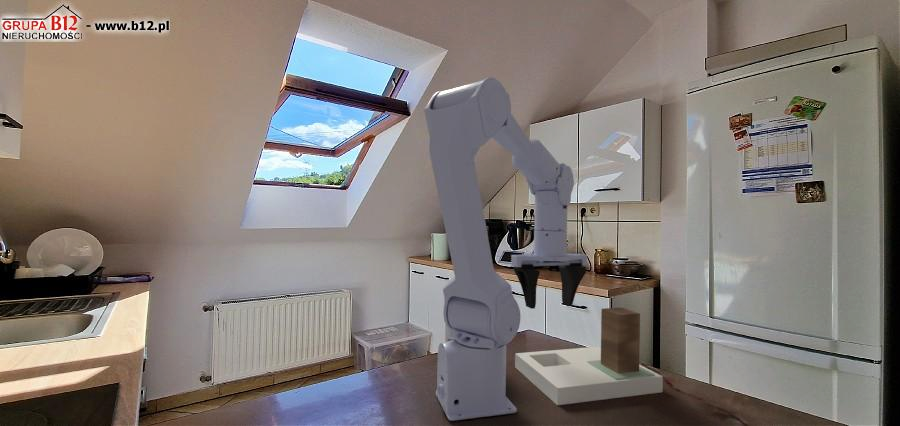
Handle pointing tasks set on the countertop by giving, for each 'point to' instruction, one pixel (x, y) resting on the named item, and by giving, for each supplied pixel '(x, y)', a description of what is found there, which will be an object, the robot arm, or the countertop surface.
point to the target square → (619, 376)
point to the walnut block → (620, 339)
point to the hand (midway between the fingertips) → (549, 306)
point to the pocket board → (579, 376)
